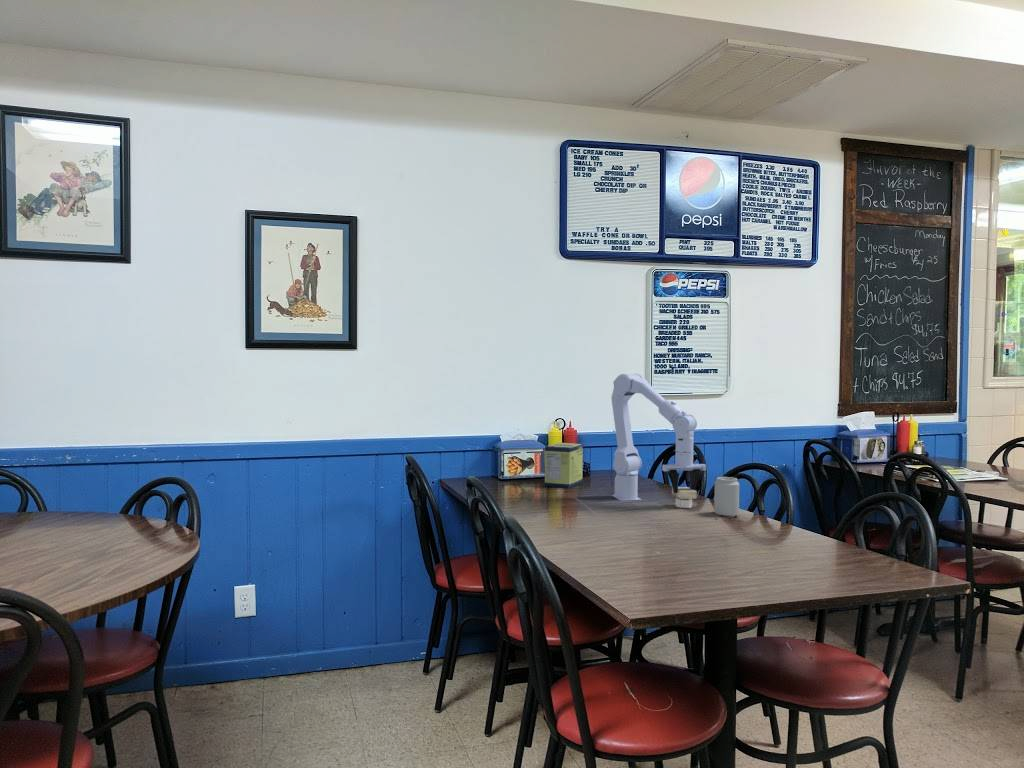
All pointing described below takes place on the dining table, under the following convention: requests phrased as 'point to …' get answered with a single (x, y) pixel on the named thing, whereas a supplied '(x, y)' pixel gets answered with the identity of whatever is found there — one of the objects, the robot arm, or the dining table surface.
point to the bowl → (683, 503)
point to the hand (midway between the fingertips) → (683, 492)
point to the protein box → (563, 465)
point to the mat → (648, 506)
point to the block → (685, 493)
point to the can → (726, 496)
